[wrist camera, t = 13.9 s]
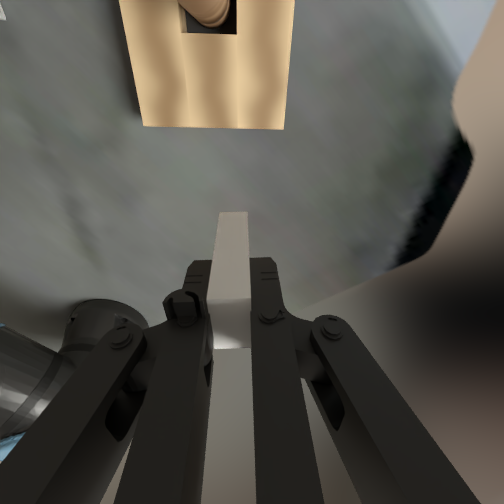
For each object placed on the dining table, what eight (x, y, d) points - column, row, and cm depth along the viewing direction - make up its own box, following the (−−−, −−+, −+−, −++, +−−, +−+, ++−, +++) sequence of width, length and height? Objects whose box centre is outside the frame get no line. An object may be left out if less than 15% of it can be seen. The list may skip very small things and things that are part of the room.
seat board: (152, 120, 32) (143, 126, 30) (110, -114, 22) (91, -141, 19) (280, 124, 33) (283, 129, 30) (298, -105, 23) (305, -130, 20)
